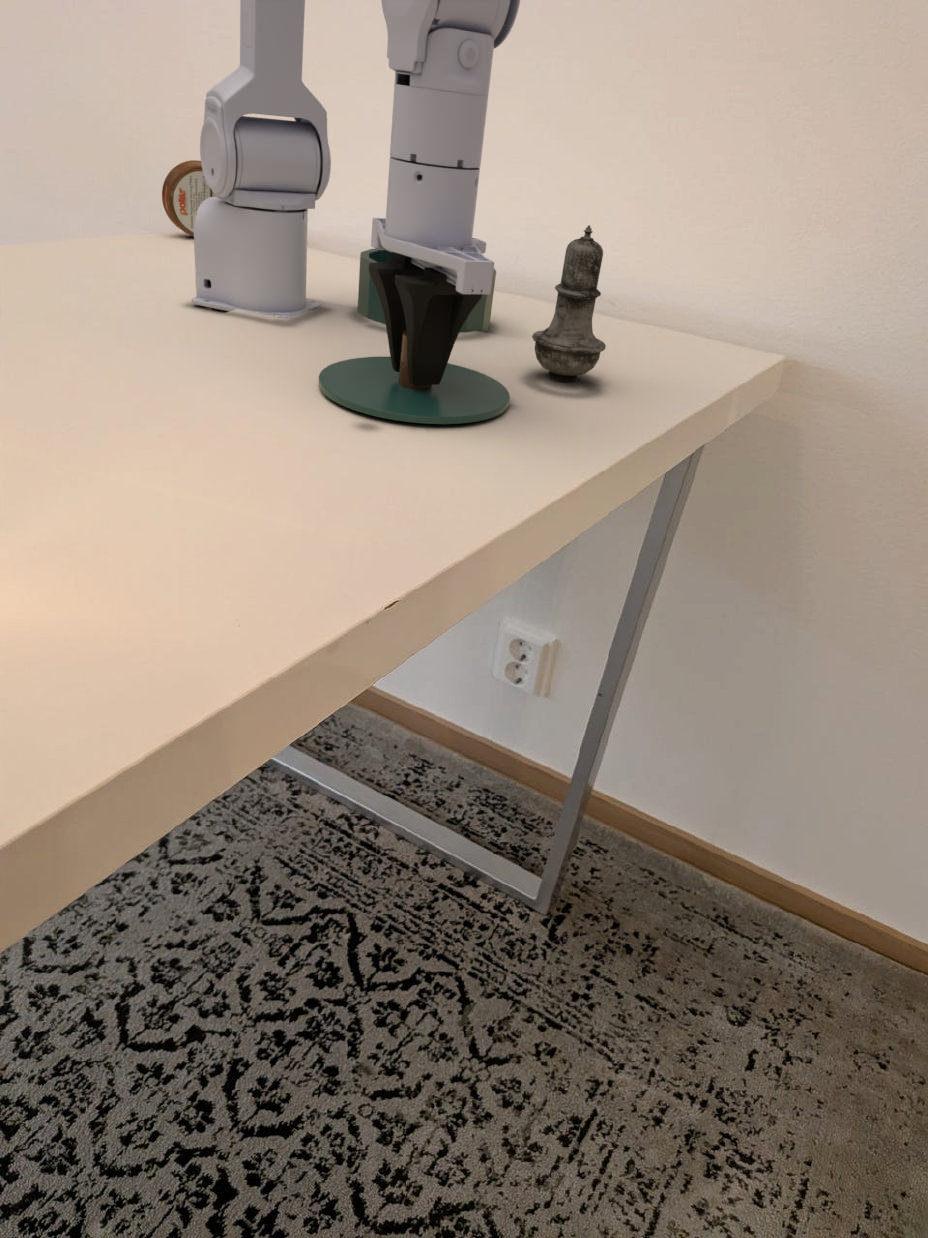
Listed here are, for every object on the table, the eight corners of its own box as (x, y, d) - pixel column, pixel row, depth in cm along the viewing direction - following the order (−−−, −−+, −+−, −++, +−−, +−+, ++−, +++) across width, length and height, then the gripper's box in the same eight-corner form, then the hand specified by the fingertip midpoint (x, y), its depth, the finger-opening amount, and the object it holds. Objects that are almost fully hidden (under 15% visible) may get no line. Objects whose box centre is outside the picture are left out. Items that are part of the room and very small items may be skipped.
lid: (283, 404, 59) (284, 335, 56) (364, 359, 70) (367, 300, 68) (476, 448, 56) (485, 376, 54) (527, 394, 67) (537, 333, 65)
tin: (281, 237, 115) (282, 165, 110) (290, 242, 112) (290, 169, 108) (163, 233, 108) (158, 156, 103) (169, 238, 105) (165, 160, 101)
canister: (335, 320, 81) (338, 258, 78) (386, 298, 91) (390, 242, 89) (465, 346, 78) (472, 283, 75) (502, 320, 89) (510, 263, 86)
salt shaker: (549, 397, 68) (578, 230, 62) (512, 374, 72) (535, 216, 66) (611, 394, 71) (644, 234, 64) (571, 372, 75) (599, 220, 69)
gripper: (549, 184, 52) (515, 408, 59) (441, 153, 62) (423, 346, 69) (442, 175, 49) (420, 413, 56) (347, 145, 59) (339, 348, 66)
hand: (416, 376), depth 62 cm, fingers closed on lid, 2 cm apart
